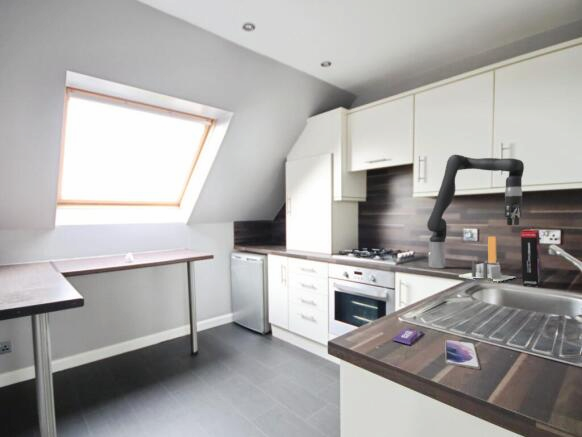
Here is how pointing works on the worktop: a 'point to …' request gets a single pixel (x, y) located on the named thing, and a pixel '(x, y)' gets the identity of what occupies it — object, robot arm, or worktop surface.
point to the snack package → (408, 336)
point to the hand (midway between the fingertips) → (513, 225)
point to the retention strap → (492, 250)
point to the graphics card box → (530, 257)
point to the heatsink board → (486, 272)
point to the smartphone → (461, 354)
